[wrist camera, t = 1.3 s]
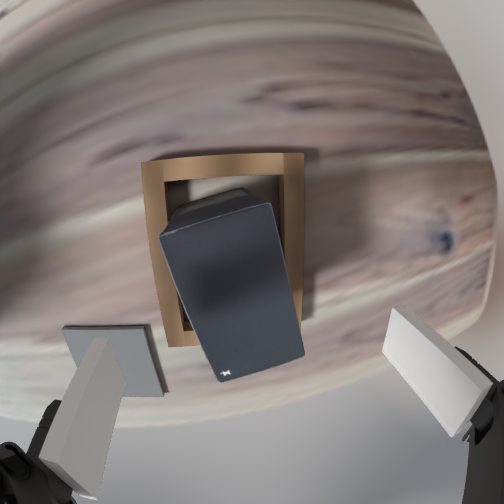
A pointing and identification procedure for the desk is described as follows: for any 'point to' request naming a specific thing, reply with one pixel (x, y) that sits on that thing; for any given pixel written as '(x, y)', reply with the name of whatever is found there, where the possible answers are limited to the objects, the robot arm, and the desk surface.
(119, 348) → the mat
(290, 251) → the wooden frame
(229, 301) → the small box
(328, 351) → the desk surface
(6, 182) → the desk surface
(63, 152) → the desk surface
